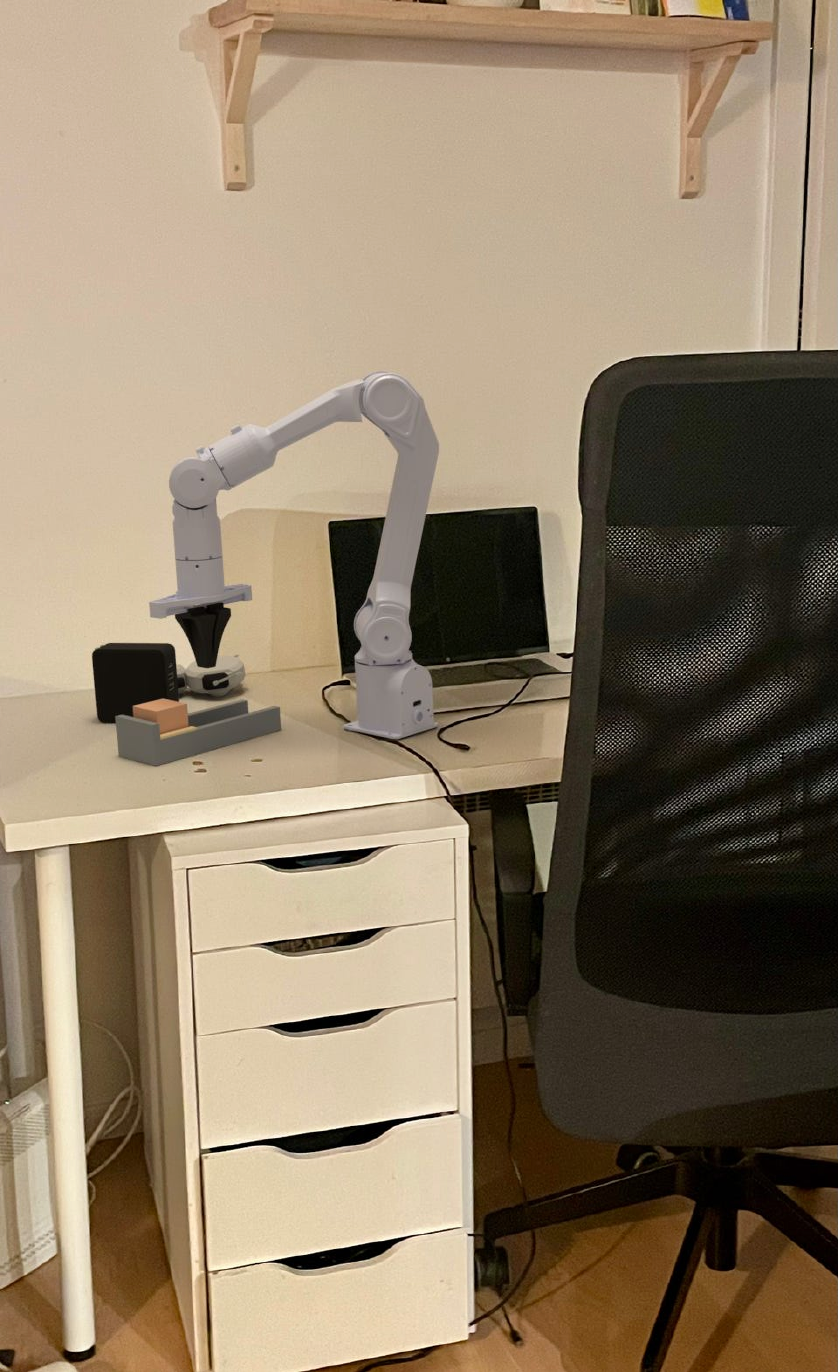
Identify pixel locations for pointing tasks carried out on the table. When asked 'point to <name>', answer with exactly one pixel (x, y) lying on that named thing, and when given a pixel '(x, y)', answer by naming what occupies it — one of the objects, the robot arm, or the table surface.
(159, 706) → the block
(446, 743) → the table surface
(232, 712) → the trough
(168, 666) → the electronic device
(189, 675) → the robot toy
